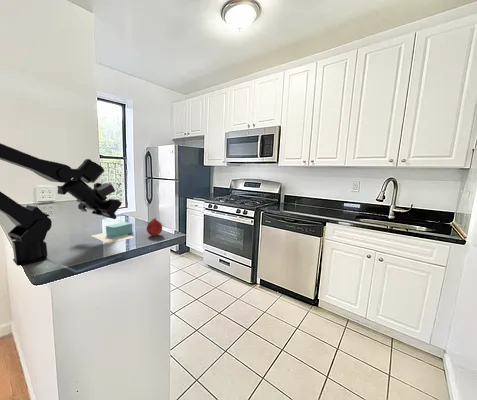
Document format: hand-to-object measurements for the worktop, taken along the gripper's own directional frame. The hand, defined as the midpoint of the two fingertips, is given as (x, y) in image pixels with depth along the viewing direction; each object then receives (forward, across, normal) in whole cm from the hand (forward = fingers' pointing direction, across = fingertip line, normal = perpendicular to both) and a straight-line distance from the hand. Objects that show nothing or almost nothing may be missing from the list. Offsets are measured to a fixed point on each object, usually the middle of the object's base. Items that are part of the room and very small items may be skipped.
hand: (115, 218), depth 89 cm
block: (+2, 0, +5) cm, 6 cm away
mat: (+4, 0, +7) cm, 8 cm away
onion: (+11, -14, 0) cm, 17 cm away
